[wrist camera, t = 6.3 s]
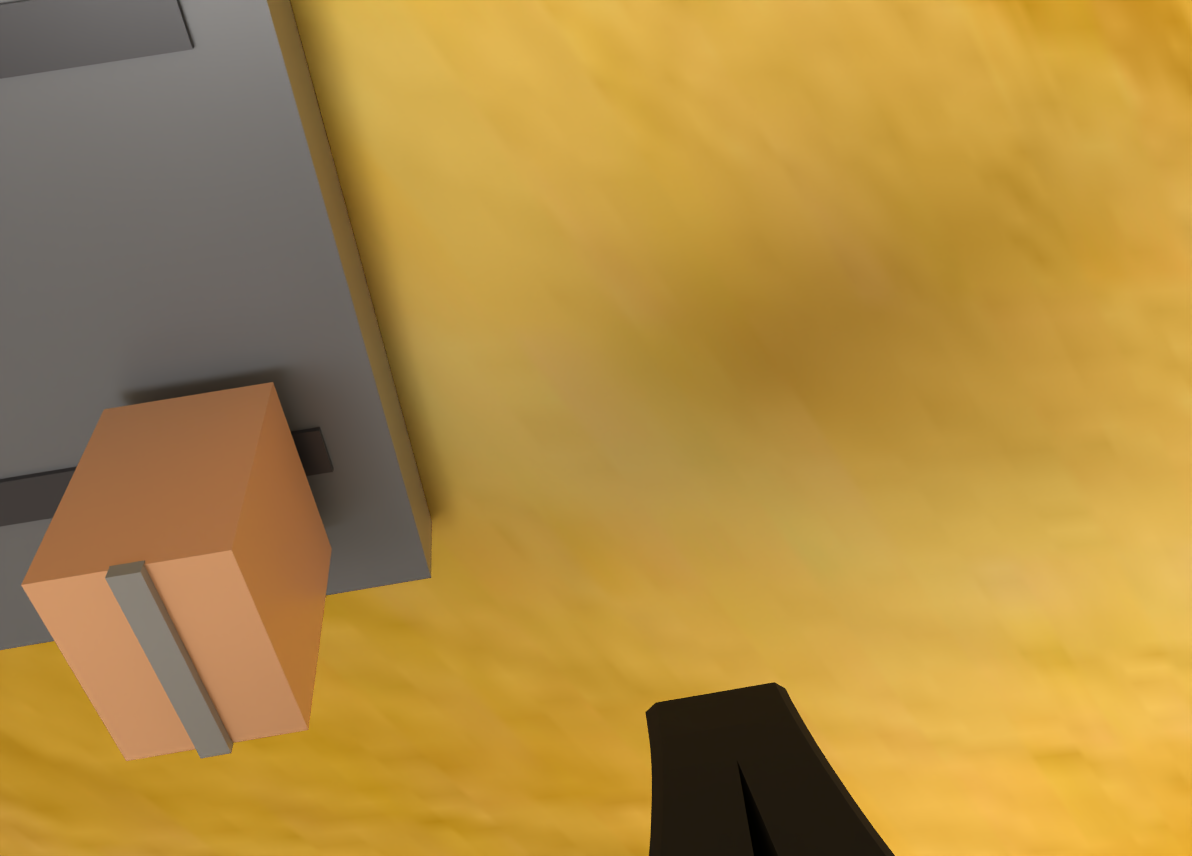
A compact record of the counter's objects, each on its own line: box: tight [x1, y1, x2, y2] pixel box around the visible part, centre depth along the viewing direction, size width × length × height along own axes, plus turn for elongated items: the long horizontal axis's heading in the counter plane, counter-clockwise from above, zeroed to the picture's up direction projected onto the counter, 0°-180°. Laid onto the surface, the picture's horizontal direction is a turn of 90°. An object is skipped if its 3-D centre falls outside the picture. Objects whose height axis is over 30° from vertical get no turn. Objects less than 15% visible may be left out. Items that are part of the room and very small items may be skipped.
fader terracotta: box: [21, 382, 332, 761], centre depth 14 cm, size 2×3×4 cm
